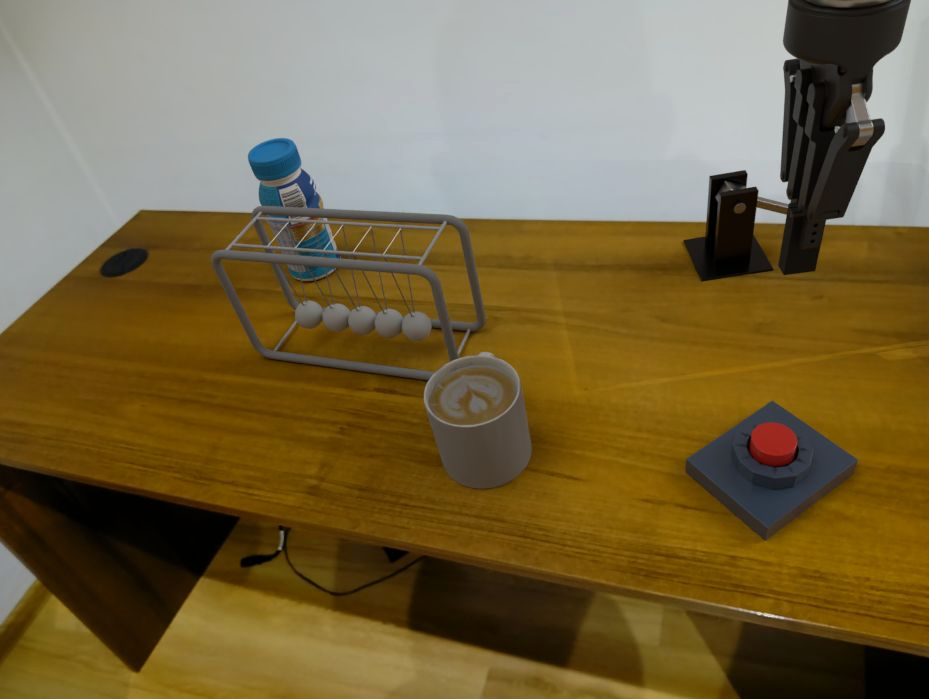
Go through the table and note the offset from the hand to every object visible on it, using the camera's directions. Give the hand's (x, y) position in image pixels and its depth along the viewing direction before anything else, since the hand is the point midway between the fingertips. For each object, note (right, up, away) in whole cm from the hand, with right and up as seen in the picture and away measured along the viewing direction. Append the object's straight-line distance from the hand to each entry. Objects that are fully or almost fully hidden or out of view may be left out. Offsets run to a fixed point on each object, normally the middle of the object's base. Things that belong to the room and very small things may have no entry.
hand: (796, 268), depth 64 cm
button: (0, -17, +4) cm, 17 cm away
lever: (+8, +10, +26) cm, 29 cm away
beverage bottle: (-52, +5, +47) cm, 70 cm away
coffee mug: (-27, -17, +16) cm, 36 cm away
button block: (0, -19, +7) cm, 21 cm away
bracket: (+5, +4, +31) cm, 32 cm away
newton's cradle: (-42, -7, +31) cm, 53 cm away
